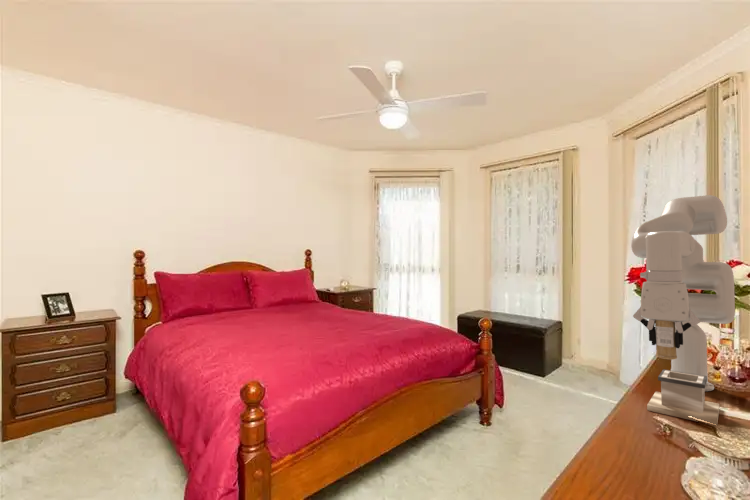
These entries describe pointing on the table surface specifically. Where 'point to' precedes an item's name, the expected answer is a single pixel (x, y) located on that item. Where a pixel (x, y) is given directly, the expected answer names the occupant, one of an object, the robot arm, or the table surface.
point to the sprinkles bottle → (665, 339)
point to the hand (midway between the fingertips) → (665, 344)
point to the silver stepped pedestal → (683, 397)
